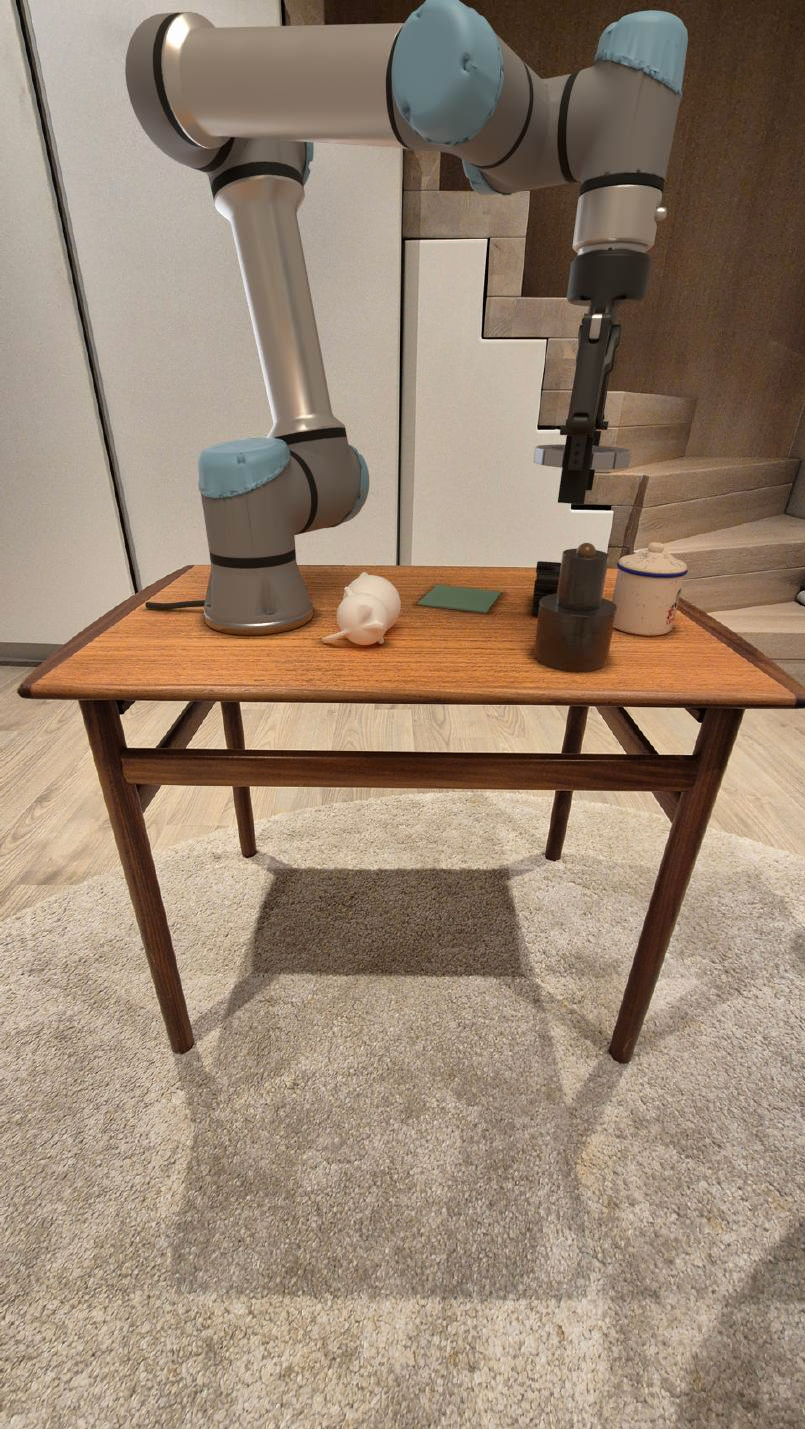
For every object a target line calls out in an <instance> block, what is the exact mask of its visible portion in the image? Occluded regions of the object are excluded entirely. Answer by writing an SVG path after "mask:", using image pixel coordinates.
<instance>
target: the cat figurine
mask: <svg viewBox="0 0 805 1429" xmlns="http://www.w3.org/2000/svg"><path fill="white" fill-rule="evenodd" d="M343 590H344V592H343V596H342V601H341V602H340V603H339V605H338V607H337V609H336V622H337V626H338V629H339V630H340V631H338V632H337V633H334V634H331V635H327V636H324V637H322V638H321V641H322V642H323V643H324V644H329V643H332V642H335V641H336V640H338V639H341V638H343V637H346V639H348V640H349V641H350V642H352V643H354V644H356V645H358V646H359V645H360V646H369V645H373V644H376V643H378V644H379V645H382V644H384V643H385V639H384V635H385V634H386V632H387V631H388V630H390V629H391V628H392V627H393V626H394V625H395V624H396V623H397V621H398V619H399V617H400V615H401V609H402V601H401V596H400V593H399V591H398V590H397V587H396V586H394V584H393V583H392V582H391V581H389V580H388V579H386V578H384V577H382V576H380V575H374V574H368V572H366V571H363V572H361V574H359V576H358V577H357V578H356V579H354V580H353V581H352V582H350V583H349V585H348V586H345V587H344V588H343Z"/></svg>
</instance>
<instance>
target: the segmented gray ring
mask: <svg viewBox="0 0 805 1429" xmlns="http://www.w3.org/2000/svg"><path fill="white" fill-rule="evenodd" d="M564 451H565V444H561V443H560V444H557V443H556V444H540V445H537V446H535V447H534V453H533V460H532V461H533V464H537V465H539V466H545V467H552V468H559V469H562V466H563V459H564ZM632 451H633V450H632V449H629V448H624V447H617V446H608V445H607V446H606V445H599V446H595V445H593V449H592V456H591V462H590V469H595V470H622V469H628V468H629V467H630V462H631V456H632Z"/></svg>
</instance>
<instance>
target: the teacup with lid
mask: <svg viewBox="0 0 805 1429" xmlns="http://www.w3.org/2000/svg"><path fill="white" fill-rule="evenodd" d="M616 567H617V572H616V578H615V582H614V583H615V584H614V588H613V593H612V598H611V602H613V603H614V604H615V605H616V606H617V611H616V617H615V622H614V627H613V629H616V630H618V631H621V632H624V633H627V634H630V635H636V636H646V637H655V636H663V635H666V634H668V633H670V632H671V631H672V630H673V626H674V623H675V618H676V614H677V610H678V606H679V602H680V597H681V593H682V589H683V585H684V582H685V581H684V580H685V576H686V575H687V574H688V573H689V572H688V571H689V570H688V566H687V563H686V562H684V561H683V560H681V559H678V558H675V557H674V556H673V555H672V554H671V553H669V552H668V551H665V544H664V543H662V542H657V541H656V542H655V541H654V542H650V543H648V546H647V549H641V550H639V551H637V552H635V553H633V554H627V555H624V556H622V557H620V558H619V560H618V561H617V563H616Z"/></svg>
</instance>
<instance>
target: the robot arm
mask: <svg viewBox="0 0 805 1429" xmlns="http://www.w3.org/2000/svg"><path fill="white" fill-rule="evenodd" d="M688 34H689V33H688V28H686V26H685V24H684V22H683V21H682V19H681V18H679V17H678V16H677V15H675V14H673V13H670V12H667V11H663V10H643V11H636V12H632V13H629V14H626V15H624V16H622V17H621V18H619V20H618V21H615V22H612V23H610V24H609V25H608V26H606V28H605V29H604V30H603V32H602V33H601V36H600V37H599V40H598V44H597V49H596V53H595V55H594V61H593V65H592V66H590V67H586V68H583V69H581V70H578V71H575V72H572V73H568V74H564V75H559V76H554V77H549V78H541V77H540V76H539V75H538V74H537V73H536V72H535V71H534V70H533V69H532V68H531V67H530V66H529V65H528V64H527V63H526V62H525V61H524V60H523V59H522V58H521V57H520V56H518V55H517V53H516V52H515V51H514V50H513V49H512V48H510V47H509V45H508V44H507V43H506V42H505V41H504V40H503V39H502V38H501V37H500V36H499V35H498V34H497V33H496V32H495V31H494V28H493V27H492V26H491V24H490V23H489V22H488V20H487V19H486V18H485V16H483V15H480V13H478V12H477V11H476V9H475V8H472V7H470V6H467V5H466V4H464V3H463V2H461V1H460V0H425V1H424V2H423V4H421V5H420V6H419V7H418V8H417V9H416V10H414V11H412V12H411V14H410V15H409V16H408V18H407V19H406V20H405V22H404V23H403V22H398V23H397V22H396V23H395V22H394V23H362V24H361V23H356V24H354V23H353V24H315V25H312V24H311V25H309V24H308V25H307V24H306V25H274V26H273V25H268V26H230V27H229V26H228V27H227V26H224V27H216V26H215V25H214V24H213V23H212V21H210V20H209V19H208V18H206V16H204V15H202V14H199V13H198V12H192V11H184V12H183V11H182V12H165V13H156V14H154V15H153V14H152V15H151V16H150V17H148V18H146V19H144V20H142V22H141V23H140V24H139V25H138V26H137V27H136V28H135V30H134V32H133V33H132V36H131V37H130V40H129V43H128V45H127V46H128V47H127V51H126V55H125V68H124V73H125V83H126V84H125V85H126V89H127V94H128V98H129V101H130V104H131V107H132V110H133V112H134V114H135V117H136V119H137V120H138V123H139V124H140V126H141V128H142V130H143V132H145V134H146V136H147V137H148V138H149V139H150V141H151V142H152V143H153V144H154V145H155V146H156V147H157V148H158V149H159V150H160V151H161V152H162V153H163V154H165V155H166V156H167V157H169V158H171V160H173V161H175V162H176V163H178V164H181V165H183V166H186V167H189V168H191V169H194V170H196V171H198V172H201V173H204V174H206V175H207V177H208V182H209V187H210V191H211V194H212V198H213V202H214V208H215V209H216V211H217V212H218V213H219V214H220V215H222V216H223V217H224V218H225V219H226V220H228V222H229V223H230V226H231V231H232V235H233V240H234V246H235V249H236V254H237V258H238V264H239V266H240V267H239V269H240V273H241V277H242V283H243V287H244V292H245V296H246V301H247V305H248V311H249V314H250V320H251V324H252V330H253V334H254V337H255V338H254V339H255V343H256V348H257V352H258V357H259V362H260V368H261V371H262V376H263V381H264V384H265V385H264V386H265V390H266V395H267V399H268V404H269V409H270V412H271V418H272V422H273V424H272V427H271V429H270V431H269V432H268V434H267V436H266V437H251V438H245V439H234V440H228V441H225V442H220V443H216V444H213V445H211V446H208V447H206V448H204V449H203V450H202V451H201V452H200V454H199V456H198V459H197V471H198V484H197V485H198V492H199V493H200V497H201V504H202V505H201V506H202V510H203V518H204V525H205V531H206V532H205V533H206V538H207V546H208V547H207V548H208V552H209V561H210V573H209V577H208V583H207V588H206V595H205V599H200V600H185V601H175V602H153V601H146V602H145V603H144V604H145V605H144V606H145V608H146V609H152V610H178V609H186V608H187V609H188V608H200V607H201V608H203V616H204V621H205V624H206V625H207V627H209V628H211V629H212V630H215V631H218V632H220V633H225V634H229V635H230V634H231V635H240V636H261V635H270V634H277V633H278V634H279V633H283V632H287V631H291V630H294V629H297V628H299V627H302V626H304V625H305V624H307V623H308V622H310V620H312V618H313V615H314V611H313V610H314V608H313V603H312V599H311V596H310V594H309V591H308V589H307V586H306V583H305V580H304V577H303V573H301V571H300V568H299V565H298V563H297V553H296V552H297V551H296V550H297V549H296V538H295V537H296V536H298V535H302V534H306V533H310V532H314V531H319V530H323V529H330V528H336V527H338V526H340V525H342V524H344V523H347V522H349V521H351V520H353V519H354V518H355V517H356V516H358V515H359V513H360V512H361V510H362V508H363V507H364V505H365V504H366V502H367V499H368V497H369V496H368V495H369V492H370V473H369V467H368V465H367V464H368V463H367V462H366V460H365V458H364V456H363V455H362V454H361V453H360V452H359V450H358V448H356V447H355V446H354V445H351V444H349V439H348V435H347V430H346V425H345V424H344V423H343V422H342V421H341V420H339V419H338V418H337V417H336V416H334V413H333V409H332V404H331V399H330V393H329V392H330V391H329V387H328V382H327V376H326V371H325V365H324V359H323V353H322V349H321V343H320V337H319V332H318V327H317V320H316V315H315V310H314V304H313V298H312V293H311V292H312V291H311V287H310V282H309V276H308V271H307V265H306V260H305V254H304V248H303V247H304V246H303V242H302V237H301V232H300V225H299V221H298V211H299V209H300V208H301V206H302V204H303V203H304V200H305V198H306V193H305V192H306V191H305V185H306V184H307V182H308V179H309V177H310V174H311V168H310V163H311V162H313V161H314V153H315V152H314V151H315V149H314V144H315V143H317V144H318V143H319V144H333V145H334V144H335V145H347V146H348V145H350V146H365V147H381V148H392V149H393V148H395V149H407V150H408V149H409V150H415V151H423V152H437V153H448V154H451V155H454V156H455V157H458V158H460V159H461V160H462V161H461V162H462V167H463V172H464V174H465V177H466V178H467V179H468V180H469V185H470V187H471V188H472V190H473V191H474V192H475V193H476V194H479V195H482V196H490V195H492V196H493V195H501V196H503V197H504V196H511V195H512V194H517V193H521V192H527V191H531V190H539V189H543V188H544V189H545V188H549V187H555V186H560V185H567V184H575V183H580V187H579V188H580V189H579V196H578V199H577V208H576V215H575V224H574V231H573V239H572V249H573V251H574V252H575V253H576V254H577V255H576V256H574V258H573V260H571V262H570V269H569V276H568V278H569V279H568V285H567V293H566V299H567V302H568V304H571V305H574V306H579V307H588V308H589V309H588V313H584V314H583V317H582V318H581V324H580V325H579V327H578V333H577V345H578V346H577V351H576V352H577V353H576V357H575V372H574V377H573V378H574V379H573V384H572V390H571V396H570V402H569V408H568V414H567V419H566V420H565V425H560V427H559V436H566V438H565V443H564V445H565V451H564V459H563V466H562V468H561V474H560V482H559V489H558V494H557V495H558V496H557V503H558V504H569V505H570V504H573V505H584V504H585V499H586V492H587V491H589V492H591V491H593V485H594V480H595V475H596V474H595V473H596V469H590V462H591V456H592V449H593V445H595V446H600V442H601V437H602V436H601V435H602V431H608V428H609V421H607V420H605V418H606V415H605V410H606V403H607V396H608V390H609V381H610V375H611V373H613V370H614V366H615V361H616V355H617V354H616V353H617V349H618V347H619V345H620V341H621V336H622V329H623V327H622V324H621V323H620V324H619V323H618V324H616V318H617V311H618V308H619V307H620V306H632V305H633V306H634V305H638V304H639V303H642V302H643V300H645V298H646V295H647V289H648V284H649V278H650V272H651V267H652V266H651V265H652V258H651V255H650V254H648V253H646V252H647V251H649V250H650V249H652V248H653V246H654V245H655V240H656V234H657V229H658V225H657V221H664V220H665V219H666V218H667V214H668V209H667V207H665V206H660V205H661V203H662V199H663V194H664V189H665V181H666V177H667V171H668V166H669V160H670V155H671V152H672V146H673V141H674V140H673V139H674V134H675V131H676V130H675V129H676V125H677V119H678V115H679V114H678V113H679V109H680V104H681V102H682V99H683V92H682V88H683V81H684V74H685V66H686V58H687V50H688V43H689V36H688Z"/></svg>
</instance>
